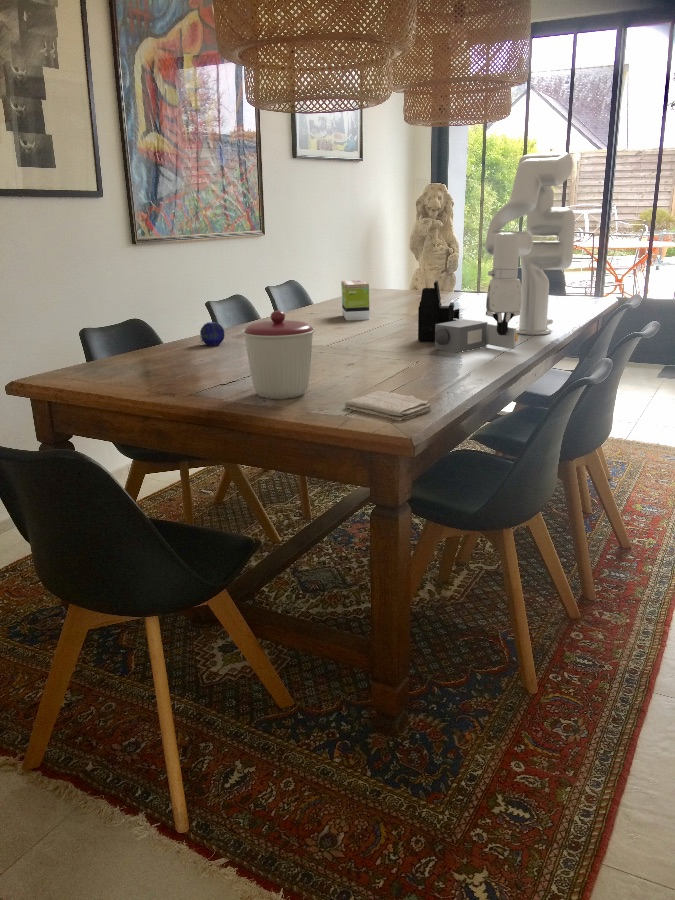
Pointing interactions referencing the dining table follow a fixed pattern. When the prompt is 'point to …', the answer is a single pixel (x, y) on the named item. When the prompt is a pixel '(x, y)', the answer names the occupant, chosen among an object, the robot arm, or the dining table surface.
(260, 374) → the canister
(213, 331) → the ball
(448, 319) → the camera
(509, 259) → the robot arm
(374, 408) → the washcloth
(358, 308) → the tea box
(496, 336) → the side door
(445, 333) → the grey device box
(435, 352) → the dining table surface
